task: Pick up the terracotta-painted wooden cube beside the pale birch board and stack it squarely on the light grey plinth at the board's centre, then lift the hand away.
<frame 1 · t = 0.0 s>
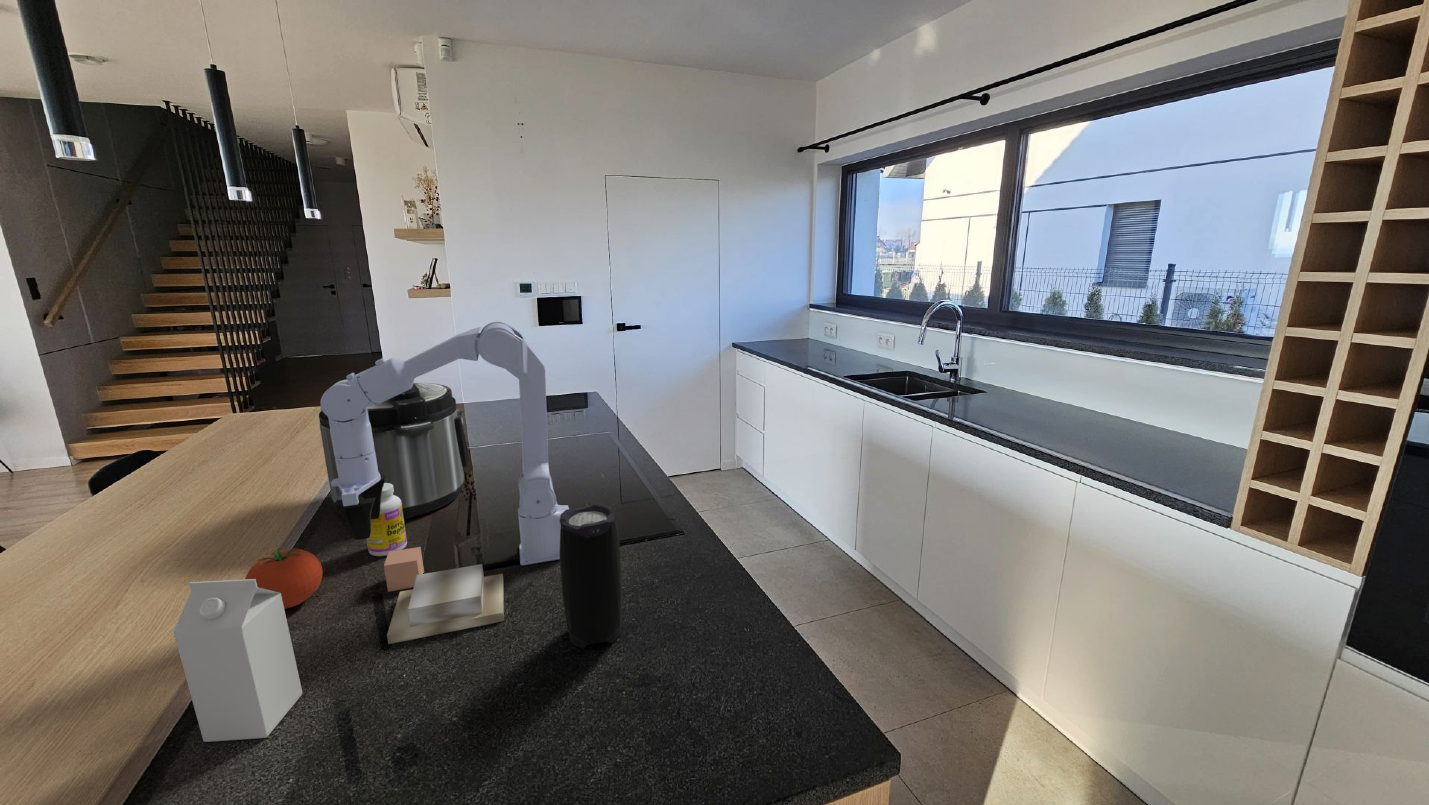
hand: (367, 528, 99), 10 cm above the counter, tool pointing down, fingers open, 7 cm apart
base: (450, 610, 93), on the counter
supplement bottle: (388, 550, 112), on the counter
portable speaker: (595, 634, 87), on the counter
pressure cooker: (407, 500, 135), on the counter
milk carton: (256, 719, 71), on the counter
cube: (406, 581, 101), on the counter
tomato: (290, 605, 95), on the counter
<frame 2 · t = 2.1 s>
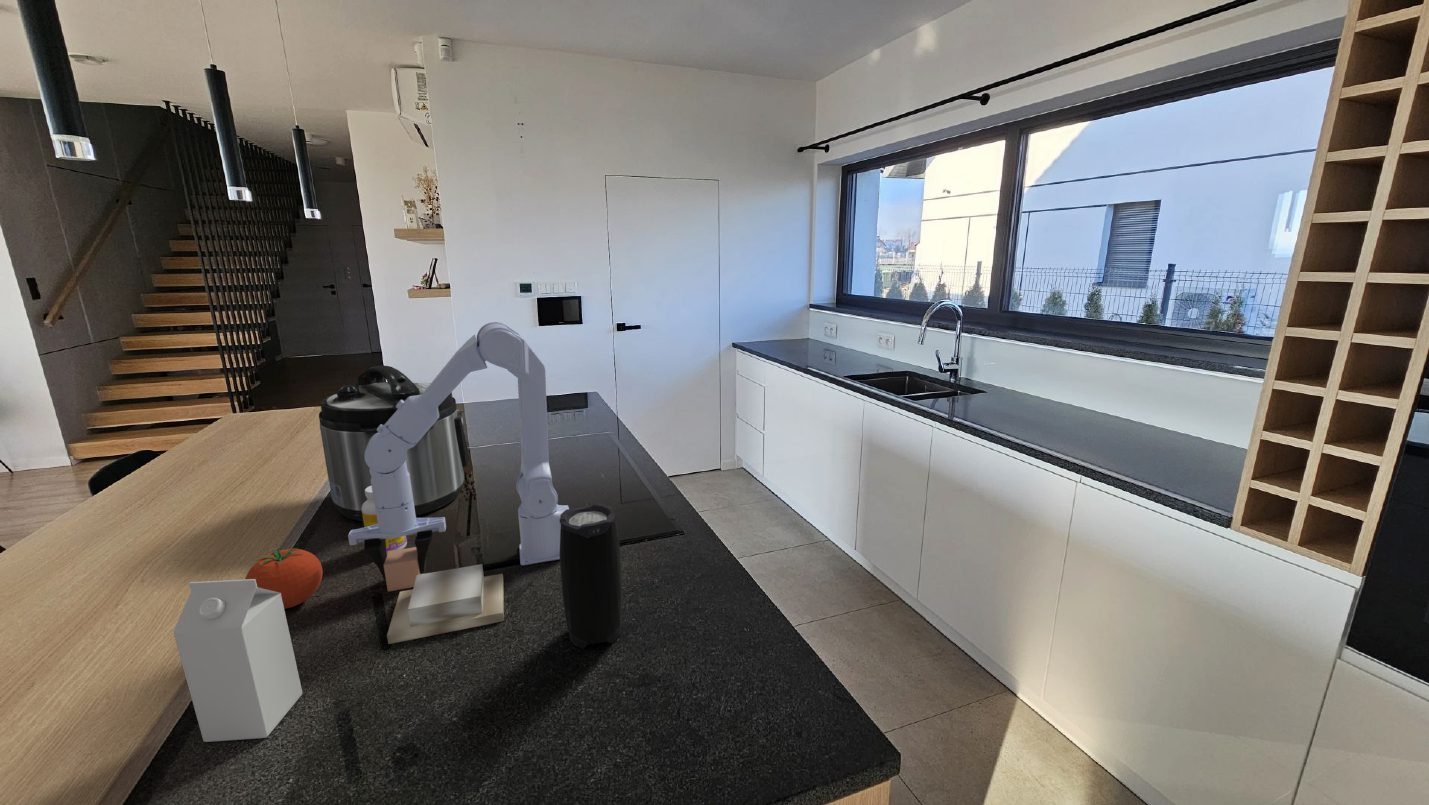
hand: (405, 573, 101), 1 cm above the counter, tool pointing down, fingers closed on cube, 5 cm apart
cube: (406, 581, 101), on the counter, touching gripper
everything else where it was.
when the fingers open (7 cm above the counter, at t = 5.7 s): cube drops 1 cm, resting on base.
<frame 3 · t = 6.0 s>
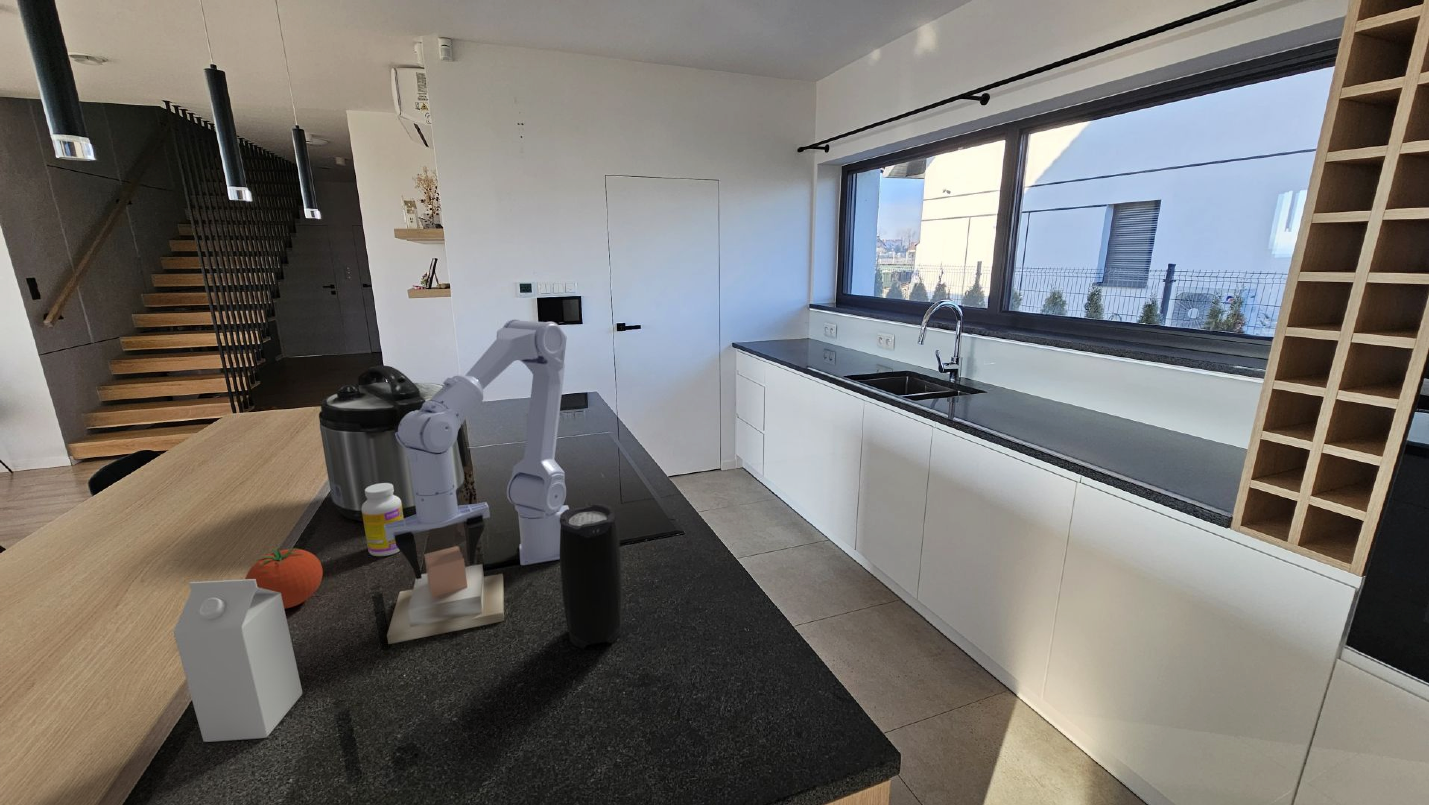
hand: (445, 568, 91), 7 cm above the counter, tool pointing down, fingers open, 7 cm apart
cube: (447, 584, 92), point 4 cm above the counter, touching base
everything else where it was.
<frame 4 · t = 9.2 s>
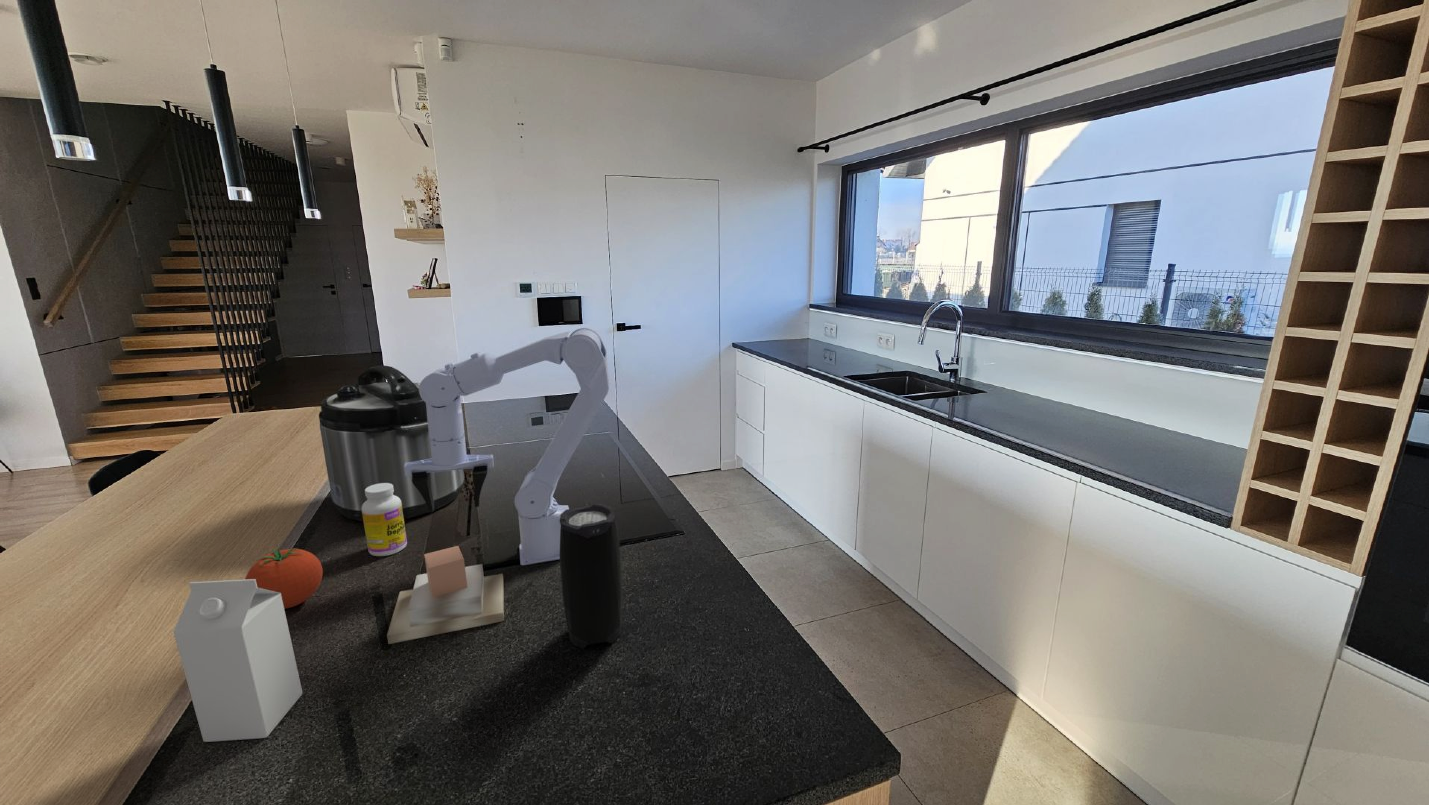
hand: (454, 507, 106), 10 cm above the counter, tool pointing down, fingers open, 7 cm apart
nothing on the counter moved.
at the end: cube 0.1 cm off-centre on the base, point 4.5 cm above the base's base; cube tilted 0°; the gripper is holding nothing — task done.
